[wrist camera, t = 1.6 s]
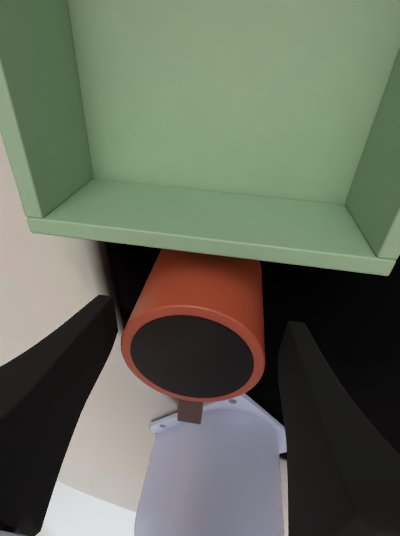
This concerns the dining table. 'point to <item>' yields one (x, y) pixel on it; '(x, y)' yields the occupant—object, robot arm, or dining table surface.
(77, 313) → the robot arm
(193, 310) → the pot
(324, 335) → the dining table surface
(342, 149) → the drawer
